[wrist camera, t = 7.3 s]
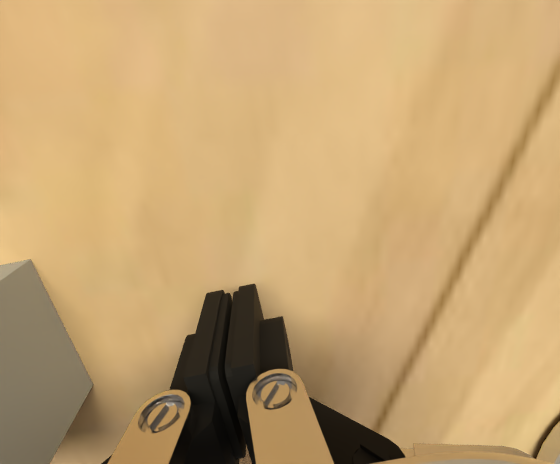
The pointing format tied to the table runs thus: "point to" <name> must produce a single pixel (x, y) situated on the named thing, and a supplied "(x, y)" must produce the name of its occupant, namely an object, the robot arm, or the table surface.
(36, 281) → the block
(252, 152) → the table surface
